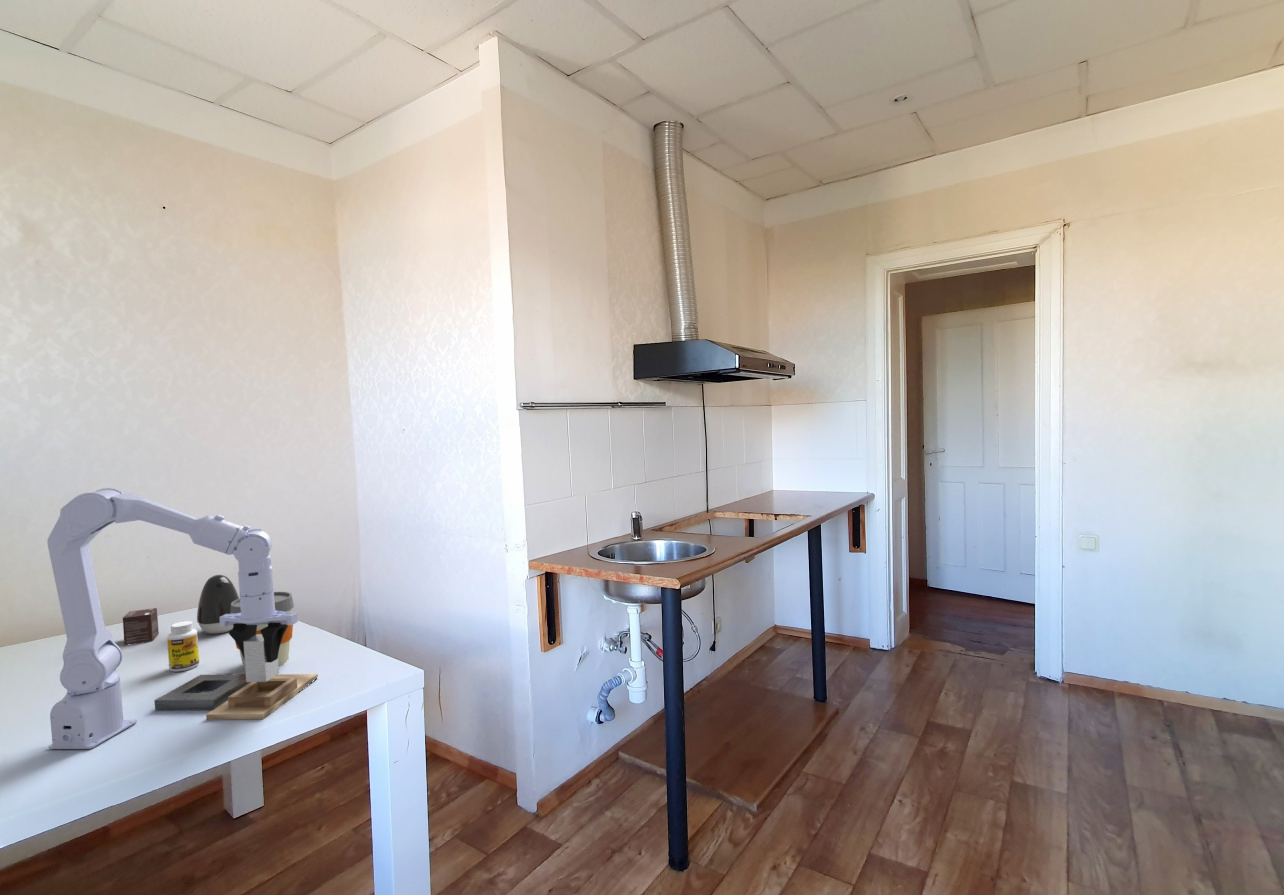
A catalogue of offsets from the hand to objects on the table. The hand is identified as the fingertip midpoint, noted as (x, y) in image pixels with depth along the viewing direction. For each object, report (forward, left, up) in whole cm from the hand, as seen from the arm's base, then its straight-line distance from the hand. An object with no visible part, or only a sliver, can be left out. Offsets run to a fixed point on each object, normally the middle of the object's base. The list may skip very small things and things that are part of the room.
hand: (261, 660), depth 124 cm
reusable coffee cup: (+20, +13, -9) cm, 25 cm away
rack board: (+2, +1, -8) cm, 9 cm away
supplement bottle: (+18, +31, -9) cm, 37 cm away
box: (+37, +58, -9) cm, 69 cm away
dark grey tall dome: (+43, +41, -9) cm, 60 cm away
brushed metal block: (0, 0, -3) cm, 3 cm away
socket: (+3, +14, -8) cm, 17 cm away
